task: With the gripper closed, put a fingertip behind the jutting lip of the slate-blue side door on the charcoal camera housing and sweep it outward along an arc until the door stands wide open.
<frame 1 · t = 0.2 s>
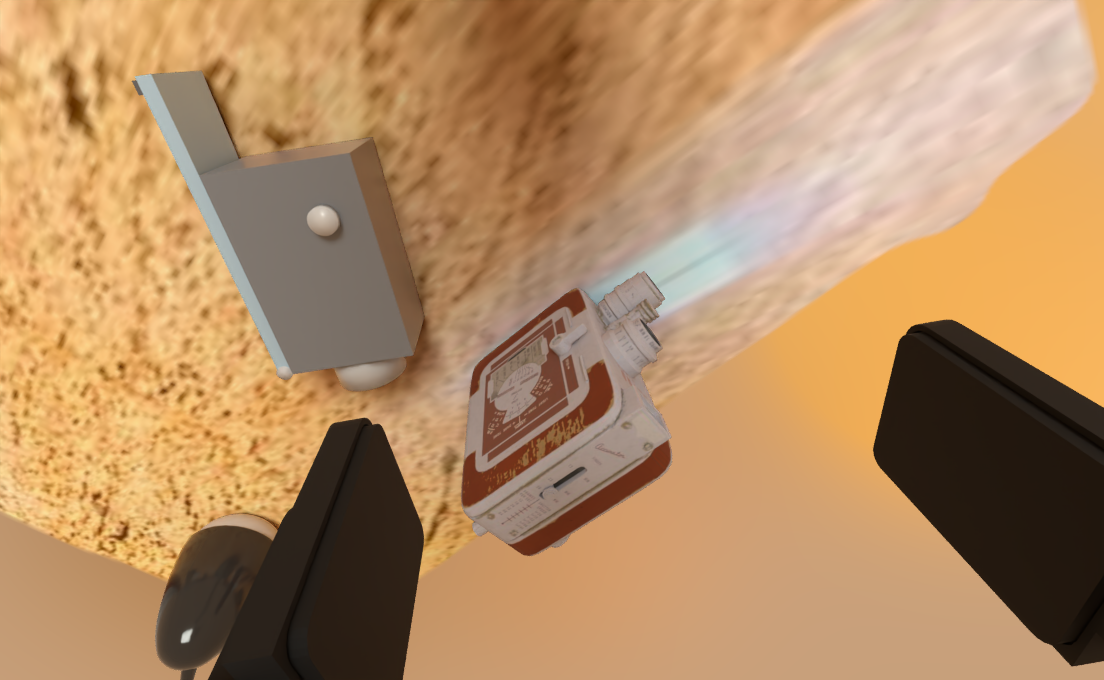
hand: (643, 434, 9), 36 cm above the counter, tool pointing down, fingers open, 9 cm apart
cine camera: (565, 330, 50), on the counter
side door: (243, 237, 39), point 4 cm above the counter, hinge at 0.0°
dark grey egg-shaped piece: (249, 529, 59), on the counter
camera housing: (343, 244, 43), on the counter
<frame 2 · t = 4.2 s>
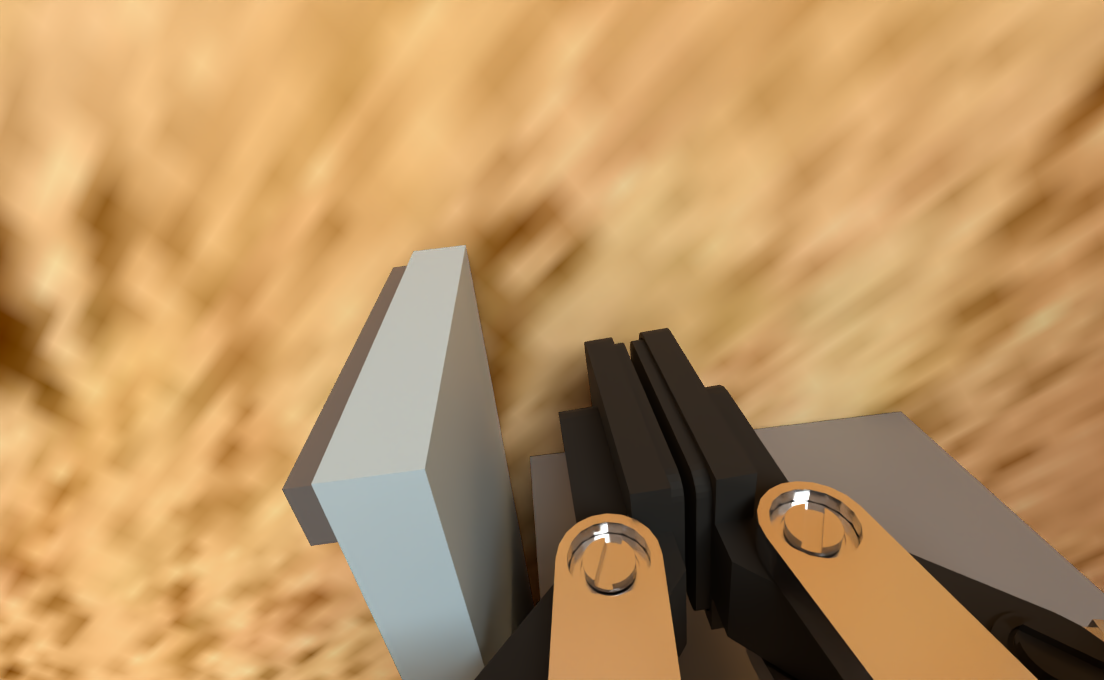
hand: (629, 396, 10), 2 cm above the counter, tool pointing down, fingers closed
camera housing: (697, 612, 17), on the counter
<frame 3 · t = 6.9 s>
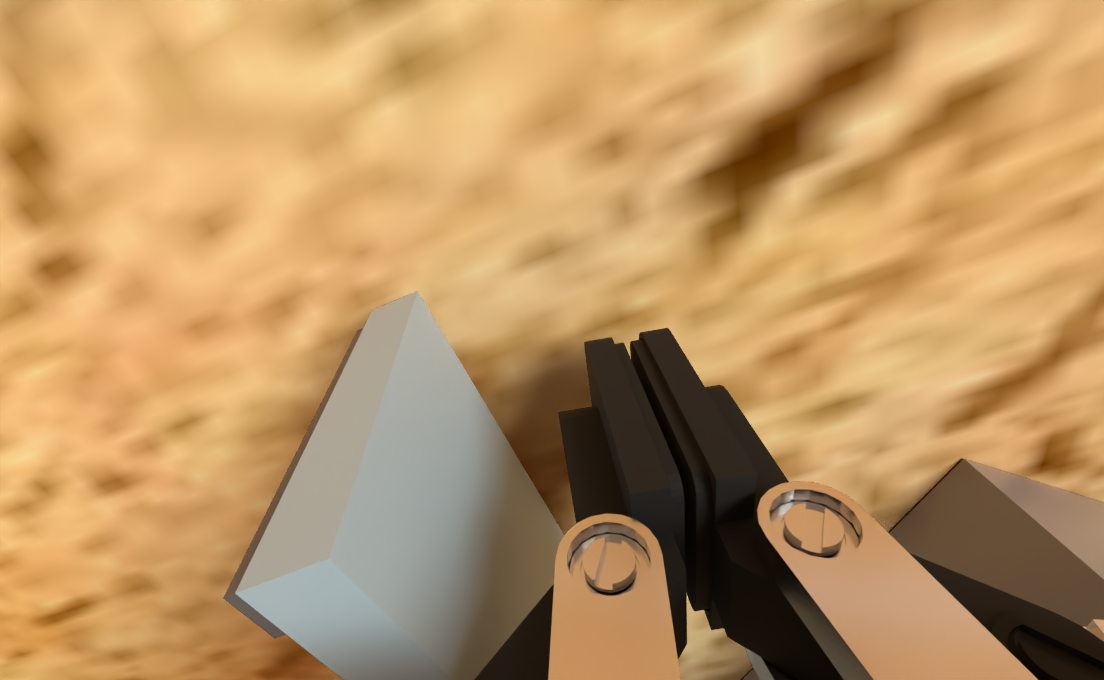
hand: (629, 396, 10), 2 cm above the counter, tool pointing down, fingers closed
camera housing: (904, 639, 19), on the counter
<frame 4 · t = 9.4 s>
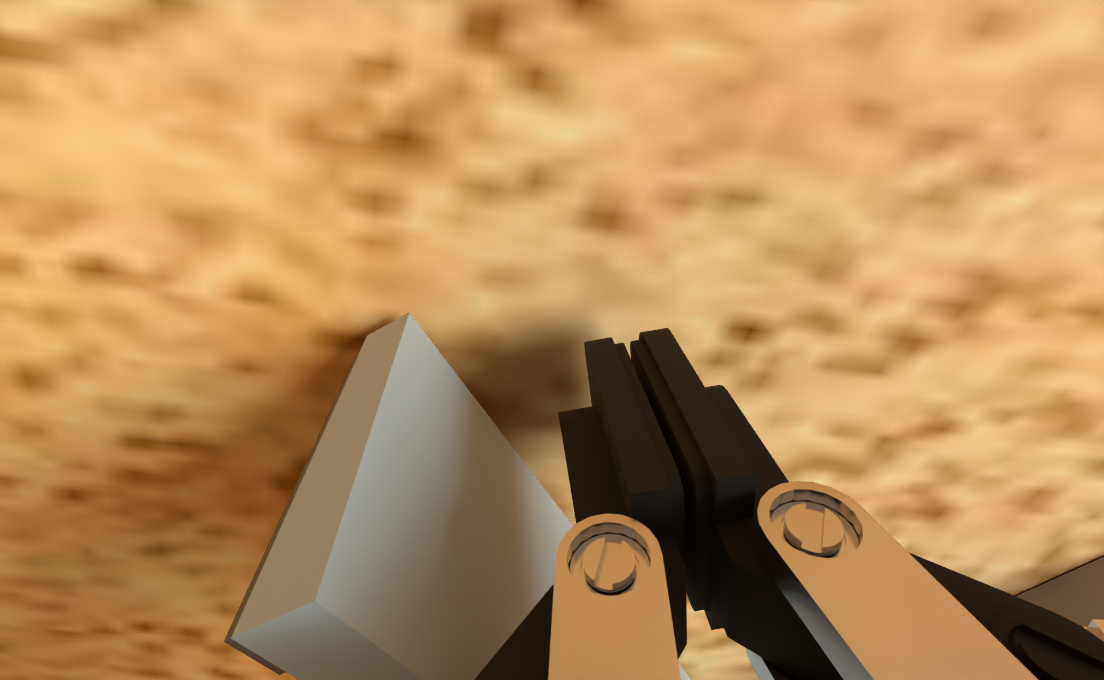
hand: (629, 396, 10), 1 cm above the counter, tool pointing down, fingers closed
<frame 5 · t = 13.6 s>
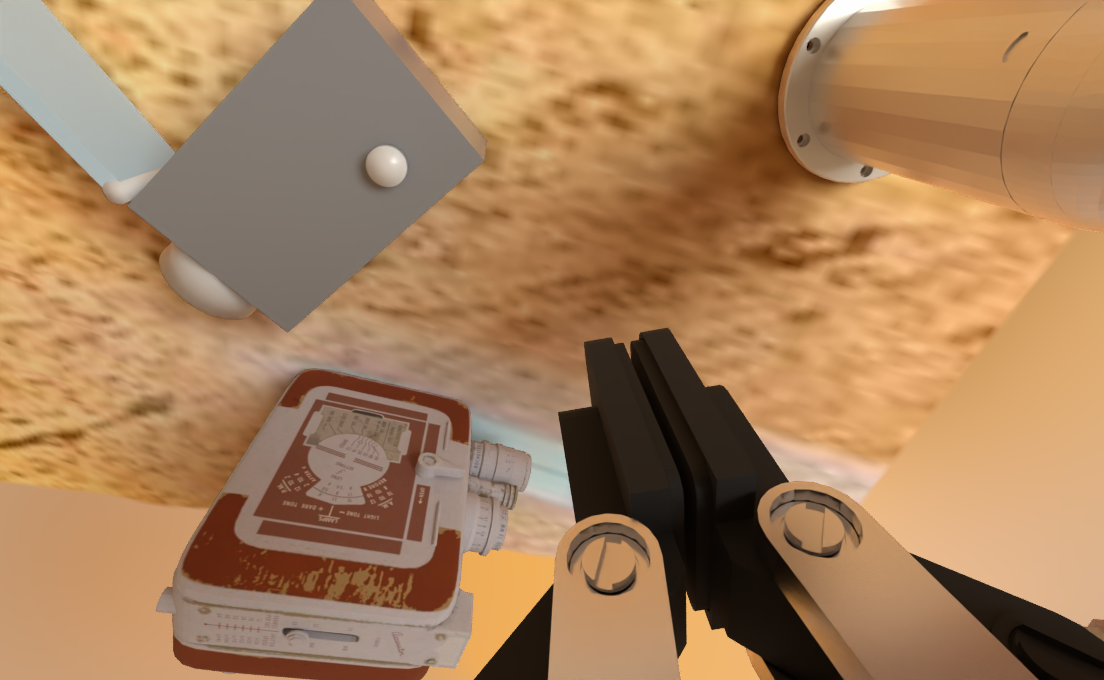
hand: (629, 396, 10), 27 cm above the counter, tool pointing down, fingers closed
cine camera: (414, 418, 44), on the counter
camera housing: (342, 159, 33), on the counter
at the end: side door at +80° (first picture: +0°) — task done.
